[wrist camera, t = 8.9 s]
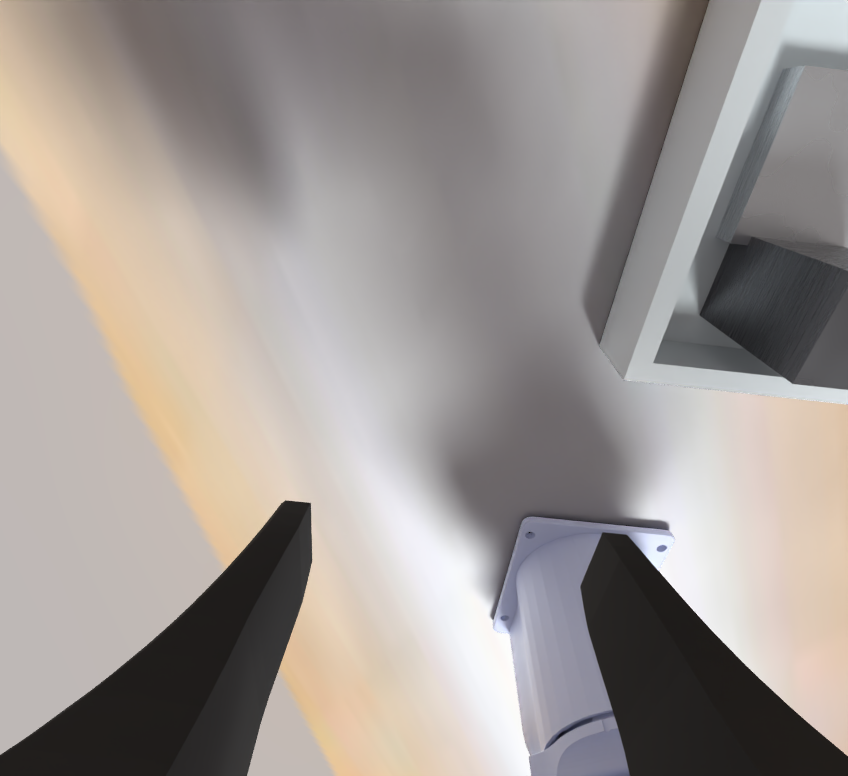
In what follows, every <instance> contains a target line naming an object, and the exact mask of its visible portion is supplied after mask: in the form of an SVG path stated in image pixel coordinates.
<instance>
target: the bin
mask: <svg viewBox="0 0 848 776" xmlns="http://www.w3.org/2000/svg"><path fill="white" fill-rule="evenodd" d="M804 65H807V66H816V67H824V68H832V69H840V70H848V0H710V1H709V4H708V7H707V10H706V13H705V16H704V19H703V22H702V26H701V29H700V32H699V35H698V38H697V41H696V44H695V48H694V51H693V54H692V57H691V60H690V63H689V66H688V69H687V73H686V76H685V79H684V82H683V85H682V88H681V91H680V95H679V98H678V101H677V104H676V107H675V110H674V113H673V116H672V120H671V123H670V126H669V129H668V132H667V135H666V138H665V142H664V145H663V148H662V151H661V154H660V157H659V160H658V163H657V167H656V170H655V173H654V176H653V179H652V182H651V185H650V189H649V192H648V195H647V198H646V201H645V204H644V207H643V210H642V214H641V217H640V220H639V223H638V226H637V229H636V232H635V236H634V239H633V242H632V245H631V248H630V251H629V254H628V258H627V261H626V264H625V267H624V270H623V273H622V276H621V279H620V283H619V286H618V289H617V292H616V295H615V298H614V301H613V305H612V308H611V311H610V314H609V317H608V320H607V323H606V326H605V330H604V333H603V336H602V339H601V342H600V345H599V347H600V348H601V349H602V351H603V352H604V354H605V355H606V356H607V358H608V359H609V361H610V362H611V363H612V365H613V366H614V368H615V369H616V370H617V372H618V373H619V375H620V376H621V377H622V379H623V380H624V381H634V382H643V383H652V384H662V385H671V386H680V387H690V388H699V389H708V390H718V391H727V392H736V393H745V394H755V395H764V396H773V397H783V398H792V399H801V400H811V401H820V402H829V403H839V404H848V390H843V389H834V388H825V387H816V386H807V385H797V384H792V383H791V382H789V381H788V380H786V379H785V378H784V377H782V376H781V375H780V374H778V373H777V372H776V371H774V370H773V369H772V368H770V367H769V366H767V365H766V364H765V363H763V362H762V361H761V360H759V359H758V358H757V357H755V356H754V355H753V354H751V353H750V352H749V351H747V350H746V349H744V348H743V347H742V346H740V345H739V344H738V343H736V342H735V341H734V340H732V339H731V338H730V337H728V336H727V335H725V334H724V333H723V332H721V331H720V330H719V329H717V328H716V327H715V326H713V325H712V324H711V323H709V322H708V321H706V320H705V319H704V318H702V317H701V316H700V313H701V310H702V308H703V306H704V303H705V301H706V298H707V296H708V294H709V291H710V289H711V287H712V284H713V282H714V279H715V277H716V275H717V272H718V270H719V268H720V265H721V263H722V260H723V258H724V256H725V253H726V251H727V249H728V246H729V244H730V243H728V242H726V241H723V240H721V239H718V238H716V237H715V236H716V234H717V231H718V229H719V226H720V224H721V221H722V219H723V216H724V214H725V211H726V209H727V206H728V204H729V202H730V199H731V197H732V194H733V192H734V189H735V187H736V184H737V182H738V179H739V177H740V174H741V172H742V169H743V167H744V164H745V162H746V159H747V157H748V154H749V152H750V150H751V147H752V145H753V142H754V140H755V137H756V135H757V132H758V130H759V127H760V125H761V122H762V120H763V117H764V115H765V112H766V110H767V107H768V105H769V102H770V100H771V98H772V95H773V93H774V90H775V88H776V85H777V83H778V80H779V78H780V75H781V73H782V70H783V69H786V68H792V67H798V66H804Z"/></svg>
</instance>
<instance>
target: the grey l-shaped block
mask: <svg viewBox="0 0 848 776" xmlns="http://www.w3.org/2000/svg"><path fill="white" fill-rule="evenodd" d="M715 237H716V238H718V239H721V240H723V241H726V242H728V243H730V244H729V246H728V249H727V251H726V253H725V256H724V258H723V260H722V263H721V265H720V268H719V270H718V272H717V275H716V277H715V279H714V282H713V284H712V287H711V289H710V291H709V294H708V296H707V298H706V301H705V303H704V306H703V308H702V310H701V313H700V316H701V317H702V318H704V319H705V320H706V321H708V322H709V323H711V324H712V325H713V326H715V327H716V328H717V329H719V330H720V331H721V332H723V333H724V334H725V335H727V336H728V337H730V338H731V339H732V340H734V341H735V342H736V343H738V344H739V345H740V346H742V347H743V348H744V349H746V350H747V351H749V352H750V353H751V354H753V355H754V356H755V357H757V358H758V359H759V360H761V361H762V362H763V363H765V364H766V365H767V366H769V367H770V368H772V369H773V370H774V371H776V372H777V373H778V374H780V375H781V376H782V377H784V378H785V379H786V380H788V381H789V382H791V383H792V384H797V385H807V386H816V387H825V388H834V389H843V390H848V70H840V69H832V68H824V67H816V66H807V65H804V66H798V67H792V68H786V69H783V70H782V73H781V75H780V78H779V80H778V83H777V85H776V88H775V90H774V93H773V95H772V98H771V100H770V102H769V105H768V107H767V110H766V112H765V115H764V117H763V120H762V122H761V125H760V127H759V130H758V132H757V135H756V137H755V140H754V142H753V145H752V147H751V150H750V152H749V154H748V157H747V159H746V162H745V164H744V167H743V169H742V172H741V174H740V177H739V179H738V182H737V184H736V187H735V189H734V192H733V194H732V197H731V199H730V202H729V204H728V206H727V209H726V211H725V214H724V216H723V219H722V221H721V224H720V226H719V229H718V231H717V234H716V236H715Z"/></svg>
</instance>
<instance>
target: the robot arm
mask: <svg viewBox="0 0 848 776" xmlns="http://www.w3.org/2000/svg"><path fill="white" fill-rule="evenodd" d="M527 532H531V533H527ZM674 541H675V539H674V536H673V534H672V533H671V532H670V531H668V530H662V529H652V528H642V527H632V526H622V525H612V524H602V523H592V522H582V521H572V520H562V519H552V518H542V517H527V518H525V519H524V520H523V521H522V523H521V526H520V530H519V533H518V537H517V540H516V544H515V547H514V551H513V554H512V558H511V561H510V565H509V568H508V572H507V575H506V579H505V582H504V586H503V589H502V592H501V596H500V599H499V603H498V606H497V610H496V613H495V617H494V620H493V629H494V630H495V631H496V632H499V633H508V634H510V640H511V648H512V655H513V663H514V670H515V677H516V685H517V692H518V700H519V707H520V715H521V722H522V730H523V735H524V739H525V743H526V746H527V749H528V751H529V754H530V756H529V762H530V770H531V776H848V756H847V755H846V754H844V753H843V752H842V751H841V750H840V749H838V748H837V747H836V746H835V745H834V744H832V743H831V742H830V741H829V740H828V739H826V738H825V737H824V736H823V735H822V734H820V733H819V732H818V731H817V730H816V729H814V728H813V727H812V726H811V725H810V724H809V723H808V722H806V721H805V720H804V719H803V718H802V717H801V716H800V715H798V714H797V713H796V712H795V711H794V710H793V709H792V708H791V707H789V706H788V705H787V704H786V703H785V702H784V701H783V700H782V699H781V698H780V697H779V696H778V695H776V694H775V693H774V692H773V691H772V690H771V689H770V688H769V687H768V686H767V685H766V684H765V683H764V682H762V681H761V680H760V679H759V678H758V677H757V676H756V675H755V674H754V673H753V672H752V671H751V670H750V669H749V668H748V667H747V666H746V665H745V664H744V663H743V662H742V661H741V660H740V659H739V658H738V657H737V656H736V655H735V654H734V653H733V652H732V651H731V650H730V649H729V648H728V647H727V646H726V645H725V644H724V643H723V642H722V641H721V640H720V639H719V638H718V637H717V636H716V635H715V634H714V632H713V631H712V630H711V629H710V628H709V627H708V626H707V625H706V624H705V623H704V622H703V621H702V620H701V619H700V617H699V616H698V615H697V614H696V613H695V612H694V611H693V610H692V609H691V608H690V606H689V605H688V604H687V603H686V602H685V601H684V600H683V599H682V597H681V596H680V595H679V594H678V593H677V592H676V591H675V589H674V588H673V587H672V586H671V585H670V584H669V583H668V581H667V580H666V579H665V578H664V577H663V576H662V574H661V573H660V572H659V570H660V568H661V566H662V564H663V562H664V560H665V558H666V557H667V555H668V553H669V551H670V549H671V547H672V545H673V543H674ZM311 563H312V535H311V503H305V502H295V501H284V502H283V503H281V505H280V506H279V507H278V509H277V510H276V511H275V513H274V514H273V515H272V516H271V518H270V519H269V520H268V521H267V523H266V524H265V525H264V526H263V528H262V529H261V530H260V531H259V533H258V534H257V535H256V536H255V537H254V538H253V540H252V541H251V542H250V543H249V544H248V545H247V547H246V548H245V549H244V550H243V551H242V552H241V553H240V554H239V556H238V557H237V558H236V559H235V560H234V561H233V562H232V563H231V564H230V566H229V567H228V568H227V569H226V570H225V571H224V572H223V573H222V574H221V575H220V576H219V577H218V579H216V581H214V582H213V583H212V584H211V586H210V587H209V588H208V589H207V590H206V591H205V592H204V593H203V594H202V595H201V596H200V597H199V598H198V599H197V600H196V601H195V602H194V603H193V604H192V605H191V606H190V607H189V608H188V609H186V610H185V612H183V613H182V614H181V615H180V616H179V617H178V618H177V619H176V620H175V621H174V622H173V623H172V624H170V625H169V626H168V627H167V628H166V629H165V630H164V631H163V632H162V633H160V634H159V635H158V636H157V637H156V638H155V639H154V640H153V641H151V642H150V643H149V644H148V645H147V646H145V647H144V648H143V649H142V650H141V651H139V652H138V653H137V654H136V655H135V656H133V657H132V658H131V659H130V660H129V661H127V662H126V663H125V664H124V665H122V666H121V667H120V668H119V669H118V670H117V671H115V672H114V673H113V674H112V675H110V676H109V677H108V678H106V679H105V680H104V681H103V682H101V683H100V684H99V685H98V686H96V687H95V688H94V689H92V690H91V691H90V692H88V693H87V694H86V695H84V696H83V697H81V698H80V699H79V700H77V701H76V702H75V703H73V704H72V705H71V706H69V707H68V708H66V709H65V710H64V711H62V712H61V713H60V714H58V715H57V716H56V717H54V718H53V719H52V720H50V721H49V722H47V723H46V724H45V725H43V726H42V727H40V728H39V729H38V730H36V731H35V732H34V733H32V734H31V735H29V736H28V737H26V738H25V739H24V740H22V741H21V742H19V743H18V744H16V745H15V746H13V747H12V748H10V749H9V750H7V751H6V752H4V753H3V754H1V755H0V776H247V773H248V769H249V766H250V762H251V758H252V754H253V750H254V746H255V743H256V739H257V735H258V731H259V727H260V724H261V720H262V717H263V714H264V711H265V707H266V704H267V701H268V698H269V695H270V692H271V689H272V687H273V684H274V681H275V678H276V675H277V673H278V670H279V667H280V664H281V661H282V659H283V656H284V653H285V650H286V647H287V644H288V642H289V639H290V636H291V633H292V630H293V627H294V624H295V622H296V619H297V616H298V613H299V610H300V607H301V604H302V601H303V597H304V593H305V589H306V585H307V581H308V576H309V572H310V568H311Z"/></svg>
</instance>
